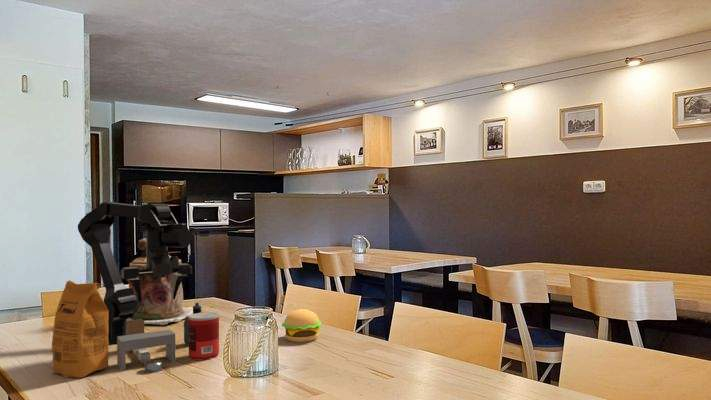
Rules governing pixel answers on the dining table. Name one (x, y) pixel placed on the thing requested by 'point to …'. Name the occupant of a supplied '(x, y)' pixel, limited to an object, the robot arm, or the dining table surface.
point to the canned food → (203, 335)
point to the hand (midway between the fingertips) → (157, 300)
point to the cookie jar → (157, 295)
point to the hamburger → (301, 326)
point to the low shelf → (145, 344)
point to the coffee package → (80, 331)
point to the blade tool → (137, 328)
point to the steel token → (153, 366)
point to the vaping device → (186, 330)
